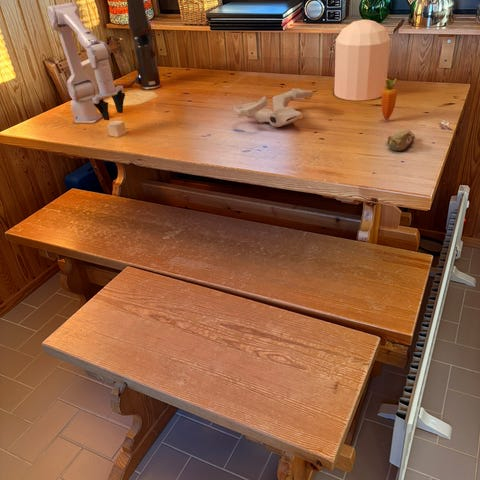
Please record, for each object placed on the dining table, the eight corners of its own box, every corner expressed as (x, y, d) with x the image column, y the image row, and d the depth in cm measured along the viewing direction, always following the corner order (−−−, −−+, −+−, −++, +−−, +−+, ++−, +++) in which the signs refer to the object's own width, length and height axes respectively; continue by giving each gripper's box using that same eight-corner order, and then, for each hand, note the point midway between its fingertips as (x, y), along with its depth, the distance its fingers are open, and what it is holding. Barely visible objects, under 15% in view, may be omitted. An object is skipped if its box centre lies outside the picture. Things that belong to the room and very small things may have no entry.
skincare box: (87, 102, 214) (77, 67, 204) (78, 102, 215) (68, 66, 206) (113, 88, 229) (105, 54, 220) (104, 88, 231) (96, 54, 222)
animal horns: (230, 133, 167) (227, 101, 161) (244, 110, 188) (241, 81, 182) (308, 133, 161) (308, 99, 155) (313, 109, 182) (314, 78, 176)
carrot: (394, 118, 167) (398, 76, 158) (393, 123, 163) (397, 80, 154) (379, 117, 168) (383, 75, 160) (378, 122, 165) (382, 80, 156)
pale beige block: (109, 135, 177) (106, 124, 174) (117, 131, 180) (114, 120, 177) (118, 137, 175) (115, 125, 172) (126, 132, 178) (123, 121, 175)
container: (354, 104, 182) (359, 27, 166) (324, 91, 198) (325, 20, 182) (396, 93, 189) (404, 18, 173) (363, 81, 205) (368, 12, 189)
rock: (408, 140, 153) (379, 139, 152) (414, 122, 149) (384, 120, 148) (421, 154, 144) (391, 153, 143) (428, 135, 140) (396, 133, 139)
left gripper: (99, 86, 159) (108, 124, 167) (126, 74, 169) (134, 110, 177) (84, 85, 162) (94, 122, 170) (111, 73, 172) (120, 109, 180)
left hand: (113, 116), depth 173 cm, fingers open, 7 cm apart
